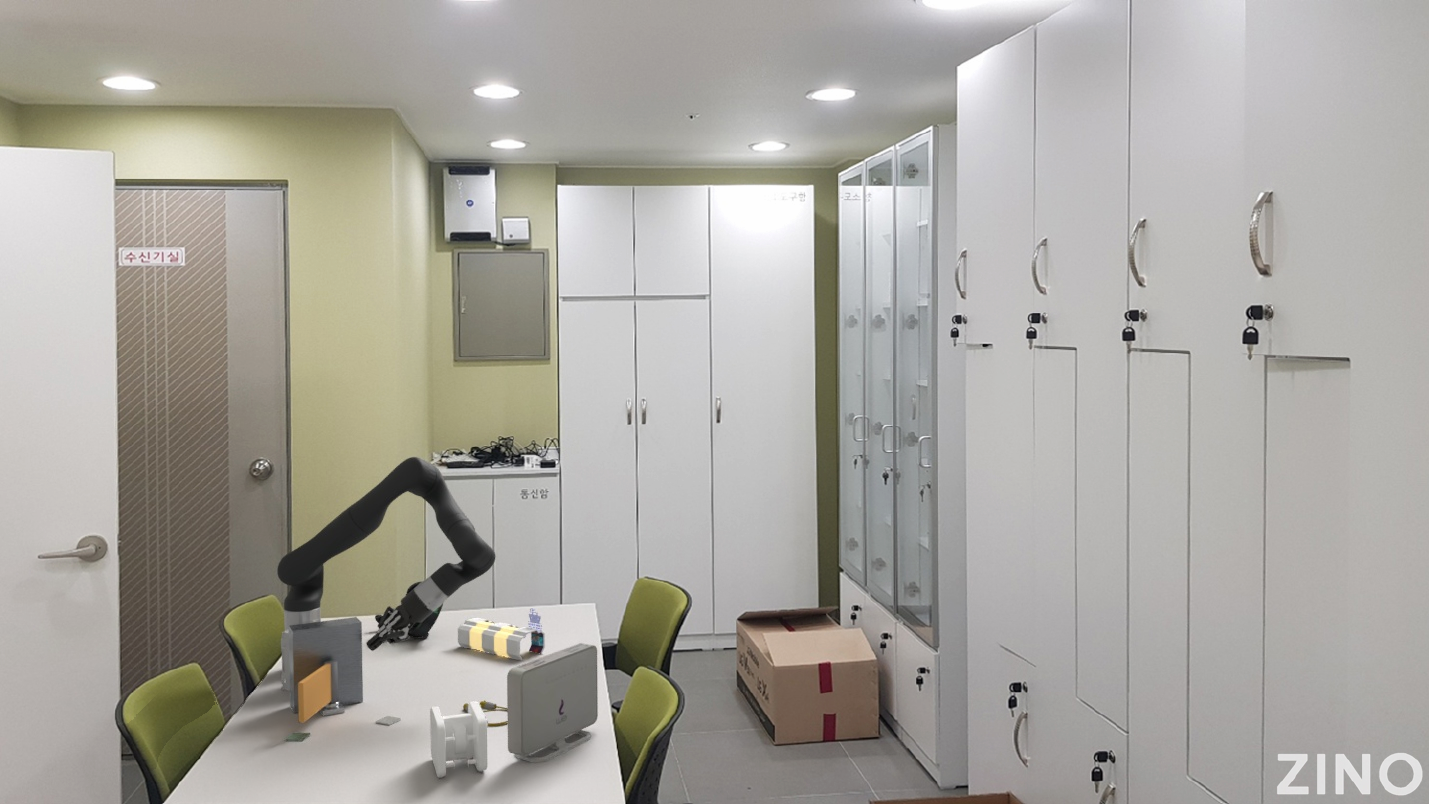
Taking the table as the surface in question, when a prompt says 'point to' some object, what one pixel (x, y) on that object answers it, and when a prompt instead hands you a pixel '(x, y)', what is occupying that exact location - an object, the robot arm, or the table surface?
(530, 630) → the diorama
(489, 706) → the extension cord
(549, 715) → the network device
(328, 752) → the table surface
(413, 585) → the headset
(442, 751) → the cable organizer
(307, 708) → the orange rectangular panel
